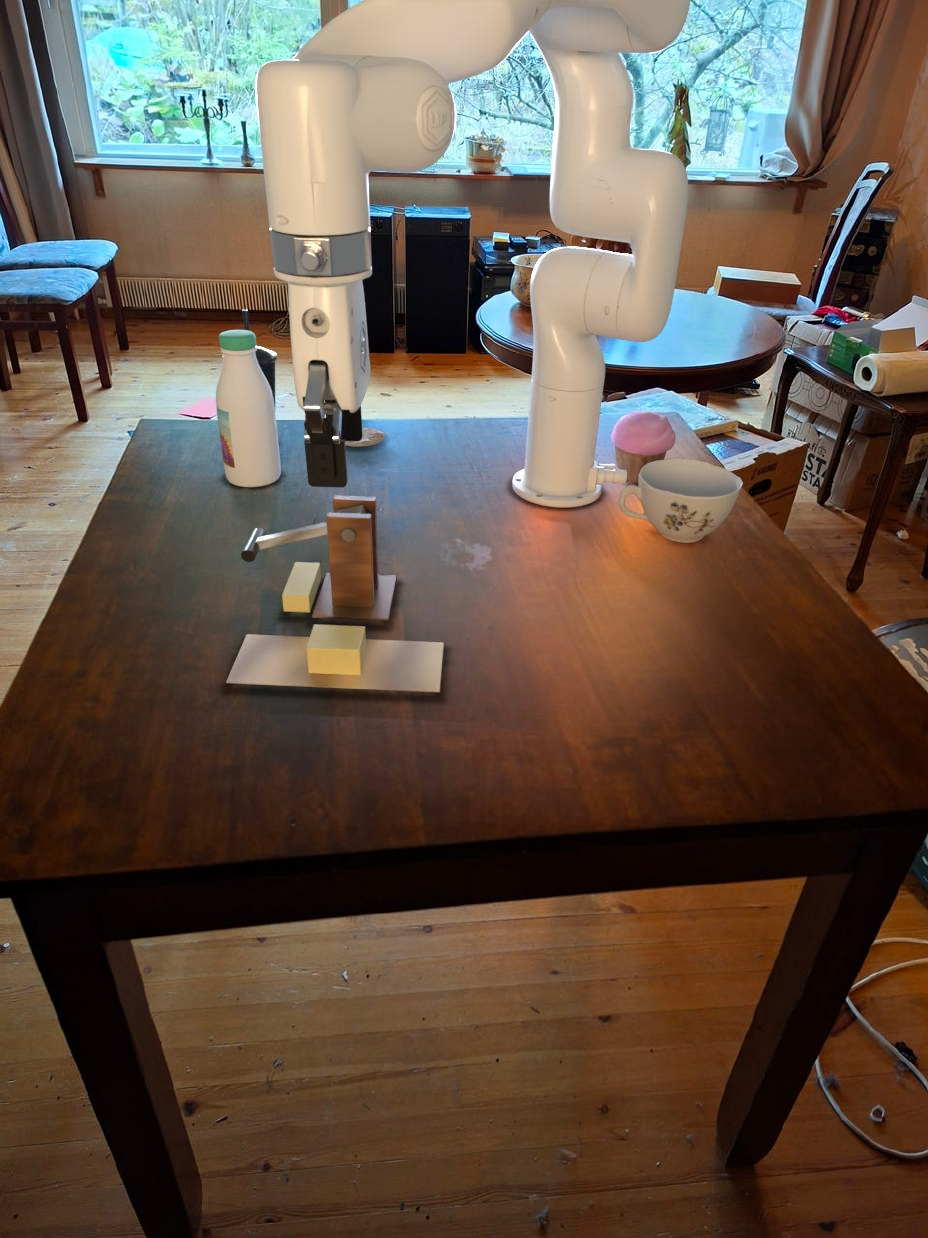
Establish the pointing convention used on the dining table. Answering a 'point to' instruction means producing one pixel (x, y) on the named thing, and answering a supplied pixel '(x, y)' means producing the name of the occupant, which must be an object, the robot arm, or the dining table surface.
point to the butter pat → (336, 649)
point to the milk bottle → (246, 414)
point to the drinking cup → (264, 359)
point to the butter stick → (301, 587)
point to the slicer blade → (288, 535)
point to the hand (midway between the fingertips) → (337, 461)
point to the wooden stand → (354, 566)
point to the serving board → (381, 670)
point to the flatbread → (367, 438)
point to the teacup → (683, 497)
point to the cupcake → (641, 441)
